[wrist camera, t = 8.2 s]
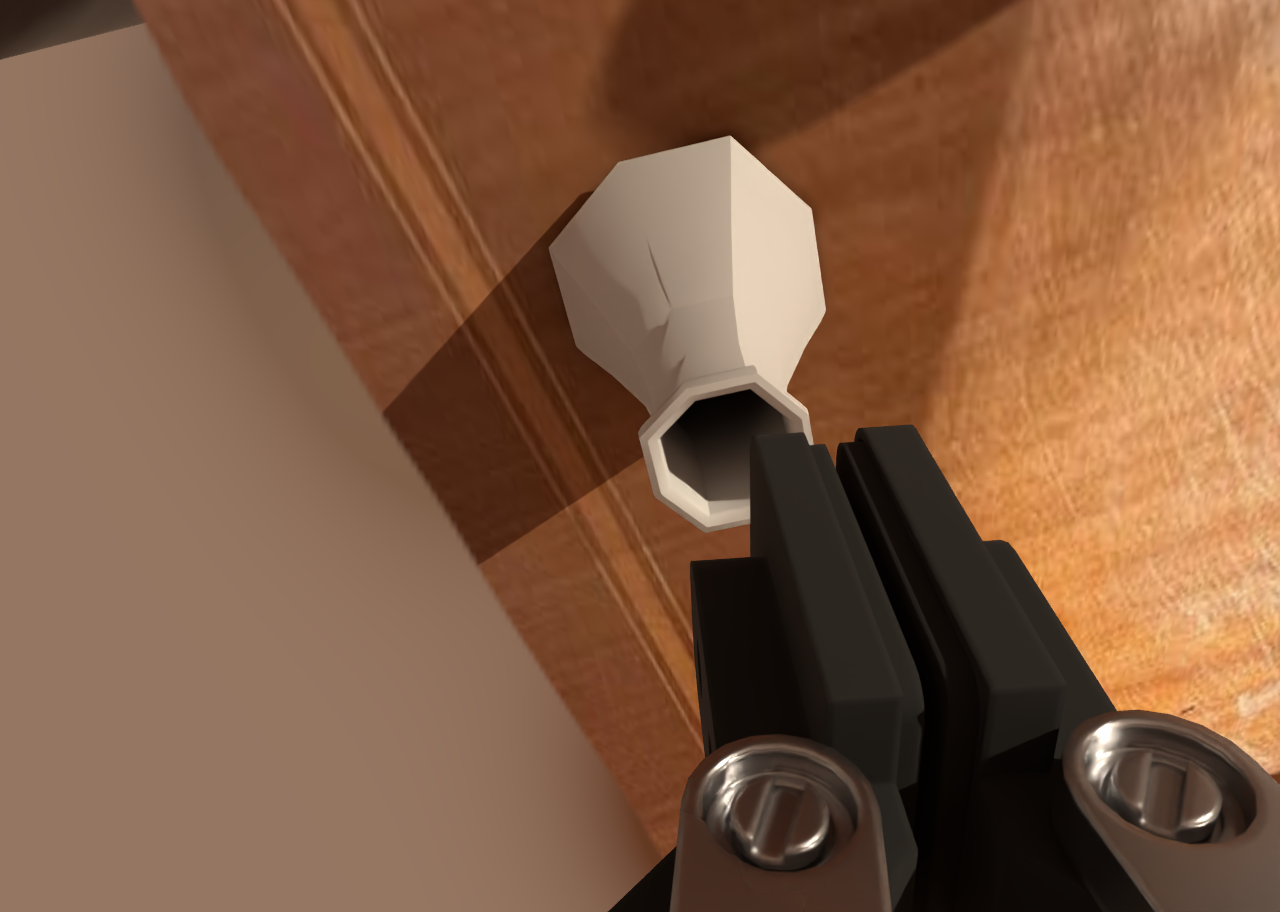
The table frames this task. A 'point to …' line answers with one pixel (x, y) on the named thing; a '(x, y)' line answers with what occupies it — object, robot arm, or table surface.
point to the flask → (696, 312)
